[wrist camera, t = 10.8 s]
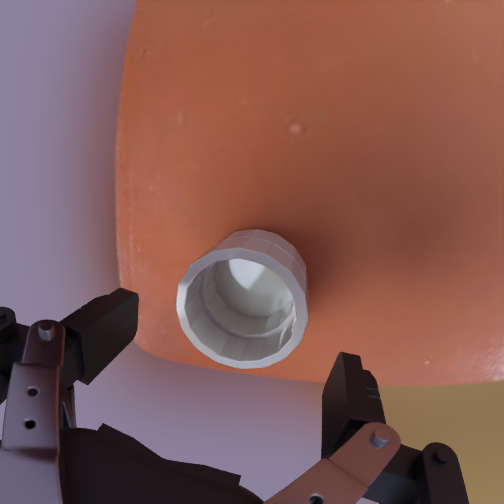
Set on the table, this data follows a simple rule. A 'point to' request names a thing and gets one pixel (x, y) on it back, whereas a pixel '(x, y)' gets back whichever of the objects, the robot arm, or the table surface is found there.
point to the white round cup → (245, 300)
